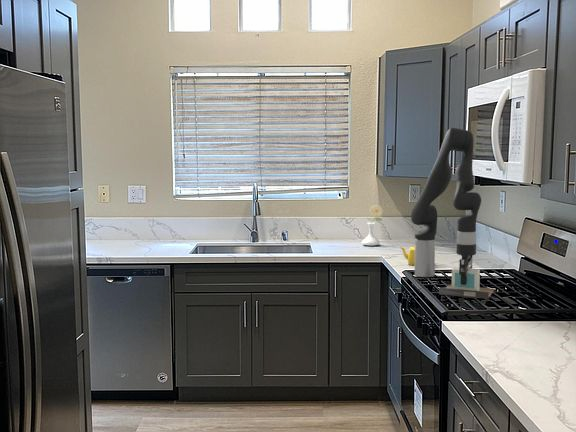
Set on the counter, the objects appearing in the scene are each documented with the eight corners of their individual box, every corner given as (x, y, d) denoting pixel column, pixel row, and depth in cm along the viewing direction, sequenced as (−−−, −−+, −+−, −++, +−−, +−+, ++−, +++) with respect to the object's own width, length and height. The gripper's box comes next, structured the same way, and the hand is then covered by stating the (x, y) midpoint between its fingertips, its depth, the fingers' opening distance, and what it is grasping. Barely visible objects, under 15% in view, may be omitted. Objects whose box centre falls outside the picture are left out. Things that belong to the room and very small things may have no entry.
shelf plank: (448, 288, 265) (448, 279, 265) (495, 292, 257) (495, 282, 256) (438, 297, 249) (439, 288, 249) (488, 302, 241) (488, 292, 240)
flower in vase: (360, 246, 377) (360, 205, 374) (363, 243, 388) (363, 203, 385) (381, 247, 373) (381, 205, 370) (384, 244, 384) (384, 204, 381)
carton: (454, 291, 253) (454, 267, 252) (479, 293, 249) (479, 269, 248) (451, 294, 249) (451, 269, 248) (477, 296, 244) (477, 271, 243)
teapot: (417, 267, 311) (418, 248, 310) (397, 263, 322) (398, 245, 321) (438, 264, 319) (438, 245, 318) (417, 260, 330) (418, 242, 329)
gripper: (472, 245, 239) (472, 287, 240) (479, 240, 251) (478, 279, 253) (453, 244, 242) (452, 285, 244) (460, 239, 255) (459, 278, 256)
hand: (465, 282), depth 248 cm, fingers open, 8 cm apart
